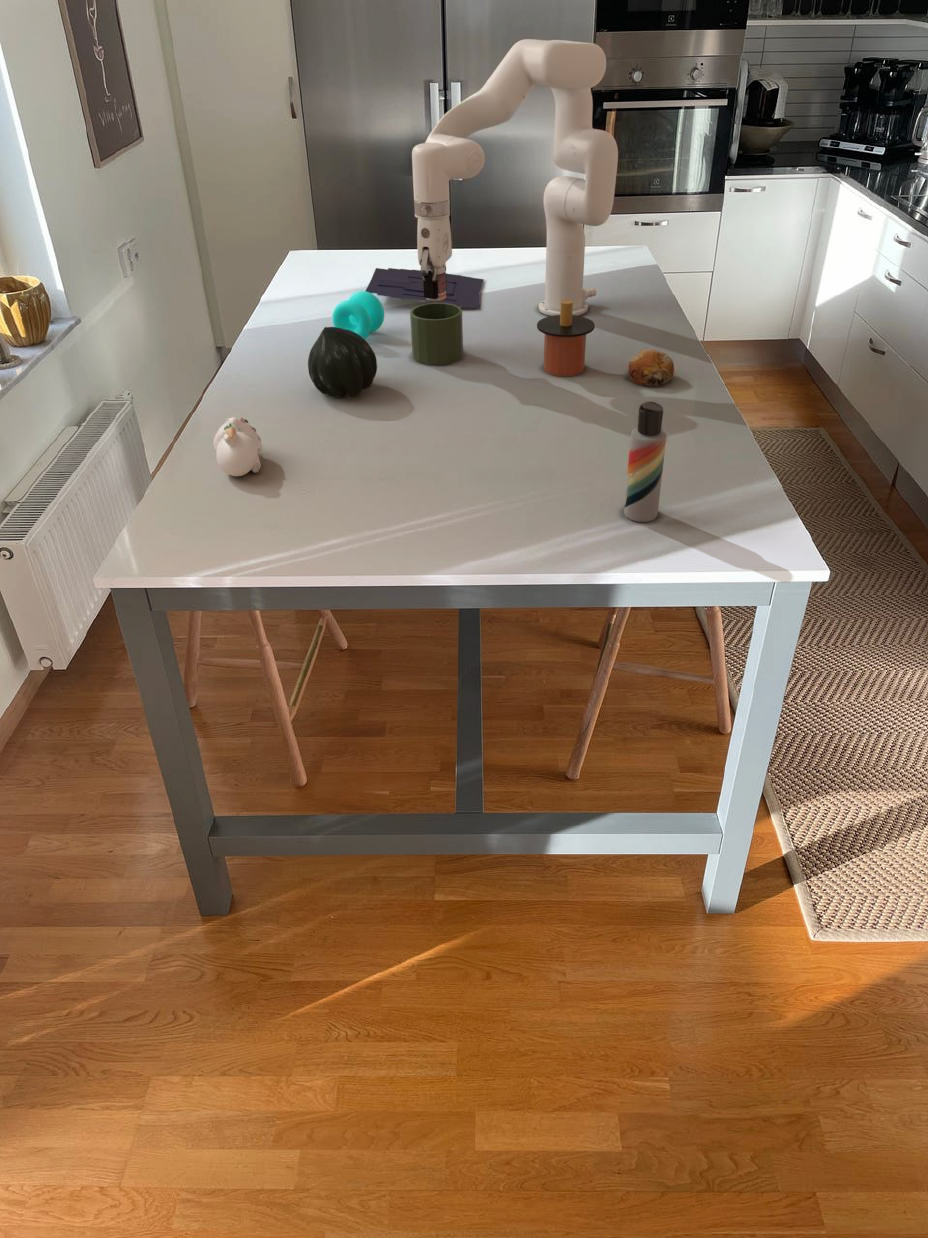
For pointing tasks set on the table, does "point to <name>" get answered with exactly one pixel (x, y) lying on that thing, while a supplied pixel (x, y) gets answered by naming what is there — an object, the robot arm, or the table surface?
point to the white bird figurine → (237, 447)
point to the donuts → (359, 314)
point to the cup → (564, 355)
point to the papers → (412, 286)
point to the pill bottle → (440, 283)
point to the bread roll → (651, 368)
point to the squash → (341, 363)
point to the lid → (565, 323)
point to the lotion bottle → (645, 464)
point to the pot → (436, 333)
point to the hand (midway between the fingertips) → (435, 293)
